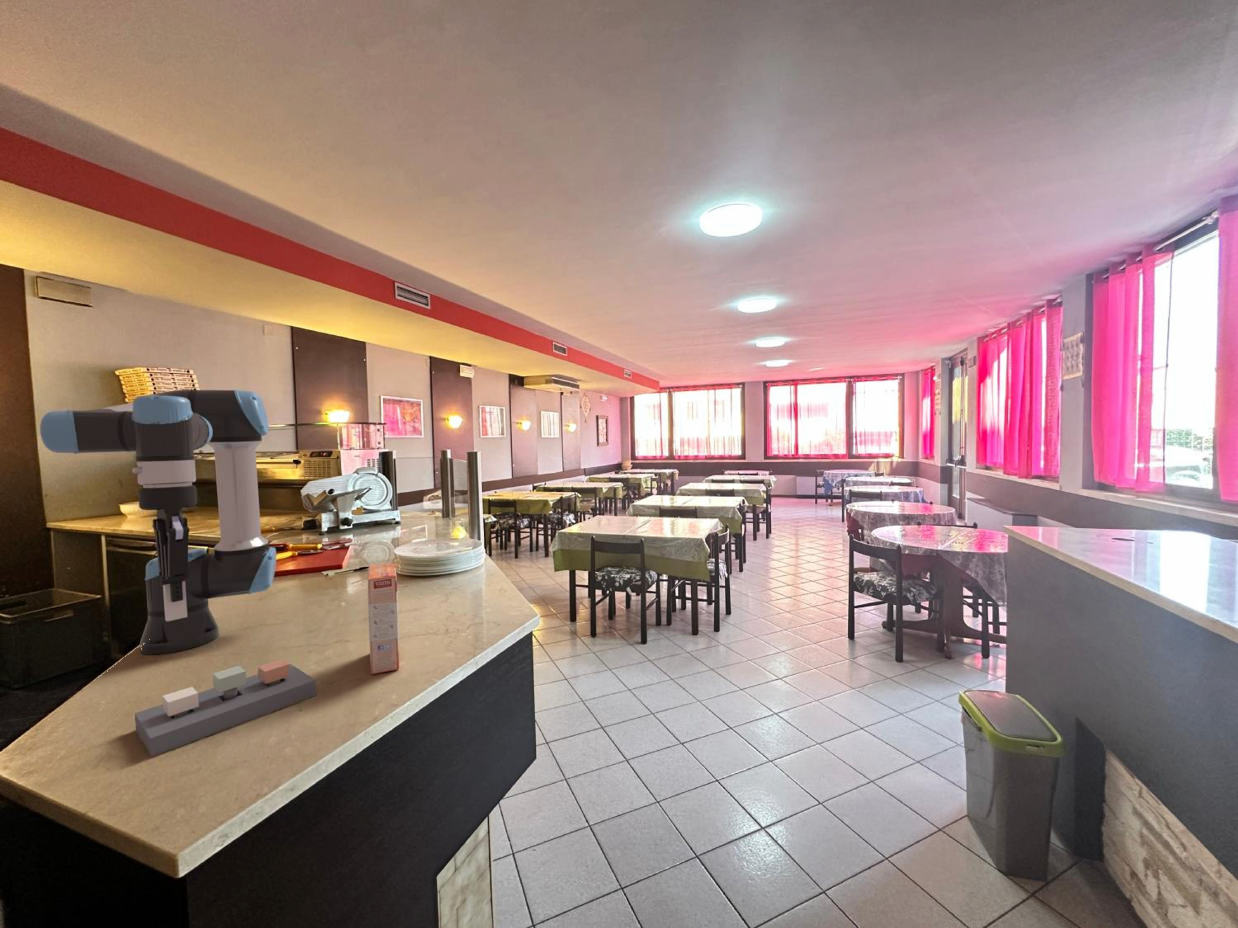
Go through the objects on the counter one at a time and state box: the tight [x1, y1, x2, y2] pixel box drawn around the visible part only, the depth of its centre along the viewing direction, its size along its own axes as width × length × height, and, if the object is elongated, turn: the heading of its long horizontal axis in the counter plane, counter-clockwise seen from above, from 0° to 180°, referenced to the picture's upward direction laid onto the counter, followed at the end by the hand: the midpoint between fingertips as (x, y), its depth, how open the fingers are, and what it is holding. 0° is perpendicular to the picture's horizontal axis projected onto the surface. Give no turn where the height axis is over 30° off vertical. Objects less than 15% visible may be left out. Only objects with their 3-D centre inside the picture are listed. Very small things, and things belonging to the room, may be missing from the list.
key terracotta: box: [257, 659, 290, 686], centre depth 98 cm, size 4×4×5 cm
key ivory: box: [162, 686, 199, 718], centre depth 87 cm, size 4×4×5 cm
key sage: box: [212, 665, 247, 701], centre depth 92 cm, size 4×4×5 cm
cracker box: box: [367, 563, 400, 675], centre depth 113 cm, size 14×6×21 cm, turn 26°
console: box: [134, 663, 317, 757], centre depth 93 cm, size 13×24×3 cm, turn 142°
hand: (176, 618), depth 88 cm, fingers closed
